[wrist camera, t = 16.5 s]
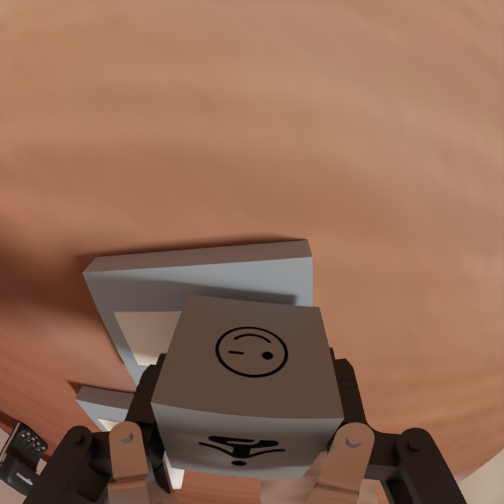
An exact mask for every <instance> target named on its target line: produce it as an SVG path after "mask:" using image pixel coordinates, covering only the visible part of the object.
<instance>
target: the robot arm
mask: <svg viewBox="0 0 504 504" xmlns="http://www.w3.org/2000/svg"><path fill="white" fill-rule="evenodd" d="M329 349H330V354H331V358H332V363H333V367H334V371H335V376H336V381H337V385H338V390H339V395H340V399H341V404H342V409H343V414H344V419H343V421H342V422H341V424H340V425H339V427H338V428H337V430H336V431H335V433H334V434H333V436H332V437H331V439H330V440H329V442H328V443H327V444H326V446H325V447H324V449H323V450H322V451H321V452H325V451H327V458H326V461H325V463H324V466H323V468H322V471H321V473H320V475H319V478H318V480H317V482H316V484H315V485H314V487H313V489H312V492H311V494H310V496H309V498H308V500H307V502H306V504H357V501H358V498H359V490H360V487H361V484H362V481H363V479H371V480H380V482H381V484H382V486H383V489H384V491H385V494H386V496H387V499H388V501H389V503H390V504H467V503H466V501H465V499H464V497H463V495H462V493H461V491H460V489H459V487H458V485H457V483H456V481H455V479H454V477H453V475H452V473H451V471H450V469H449V468H448V466H447V464H446V462H445V460H444V458H443V456H442V455H441V453H440V451H439V449H438V447H437V446H436V444H435V442H434V440H433V438H432V437H431V435H430V434H429V433H428V432H427V431H426V430H424V429H421V428H410V429H407V430H406V431H404V432H403V433H402V434H388V433H381V432H378V431H376V430H374V429H373V428H371V427H370V426H369V424H368V423H367V421H366V418H365V414H364V409H363V405H362V401H361V397H360V393H359V389H358V385H357V381H356V377H355V373H354V369H353V367H352V365H351V364H350V363H349V362H348V361H347V360H346V358H345V359H337V360H335V356H334V352H333V348H332V347H329ZM166 354H167V353H161V354H160V355H159V357H158V360H157V363H156V365H154V364H150V365H149V366H148V367H147V368H146V370H145V371H144V372H143V373H142V376H141V378H140V381H139V384H138V386H137V388H136V392H135V394H134V396H133V399H132V402H131V404H130V407H129V410H128V412H127V415H126V418H125V420H124V422H120V423H118V424H116V425H115V426H114V427H113V428H112V429H111V431H106V432H95V433H92V432H91V431H90V430H89V429H88V428H86V427H84V426H75V427H73V428H71V429H70V430H69V431H68V432H67V433H66V435H65V436H64V438H63V439H62V441H61V442H60V444H59V445H58V447H57V448H56V450H55V452H54V453H53V455H52V456H51V458H50V459H49V461H48V463H47V464H46V466H45V467H44V469H43V471H42V472H41V474H40V475H39V477H38V479H37V480H36V482H35V484H34V485H33V487H32V489H31V490H30V492H29V494H28V495H27V497H26V499H25V500H24V502H23V504H179V502H178V500H177V499H176V497H175V494H174V491H173V488H172V484H171V481H170V477H169V473H168V469H167V465H166V461H165V458H164V457H163V456H164V452H165V448H164V445H163V442H162V439H161V436H160V433H159V429H158V426H157V423H156V419H155V416H154V413H153V409H152V405H151V399H152V396H153V393H154V390H155V387H156V384H157V381H158V378H159V375H160V372H161V369H162V366H163V363H164V360H165V357H166Z"/></svg>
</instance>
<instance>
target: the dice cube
mask: <svg viewBox="0 0 504 504" xmlns="http://www.w3.org/2000/svg"><path fill="white" fill-rule="evenodd" d="M151 405H152V409H153V413H154V416H155V419H156V423H157V426H158V429H159V433H160V436H161V439H162V442H163V445H164V448H165V451H166V454H167V457H168V460H169V463H170V465H171V468H176V469H181V470H187V471H193V472H199V473H206V474H214V475H223V476H233V477H246V478H268V479H300V478H301V477H302V476H303V475H304V474H305V472H306V471H307V470H308V469H309V467H310V466H311V465H312V463H313V462H314V461H315V459H316V458H317V457H318V455H319V454H320V453H321V451H322V450H323V449H324V447H325V446H326V444H327V443H328V442H329V440H330V439H331V437H332V436H333V434H334V433H335V431H336V430H337V428H338V427H339V425H340V424H341V422H342V421H343V419H344V414H343V409H342V404H341V399H340V395H339V390H338V385H337V381H336V376H335V371H334V367H333V363H332V358H331V354H330V349H329V345H328V341H327V337H326V333H325V328H324V324H323V320H322V316H321V312H320V308H319V307H308V306H296V305H285V304H274V303H263V302H253V301H244V300H234V299H225V298H217V297H208V296H200V295H192V294H188V295H187V298H186V301H185V304H184V306H183V309H182V312H181V315H180V317H179V320H178V323H177V326H176V328H175V331H174V334H173V337H172V340H171V343H170V345H169V348H168V351H167V354H166V357H165V360H164V363H163V366H162V369H161V372H160V375H159V378H158V381H157V384H156V387H155V390H154V393H153V396H152V399H151Z"/></svg>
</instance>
